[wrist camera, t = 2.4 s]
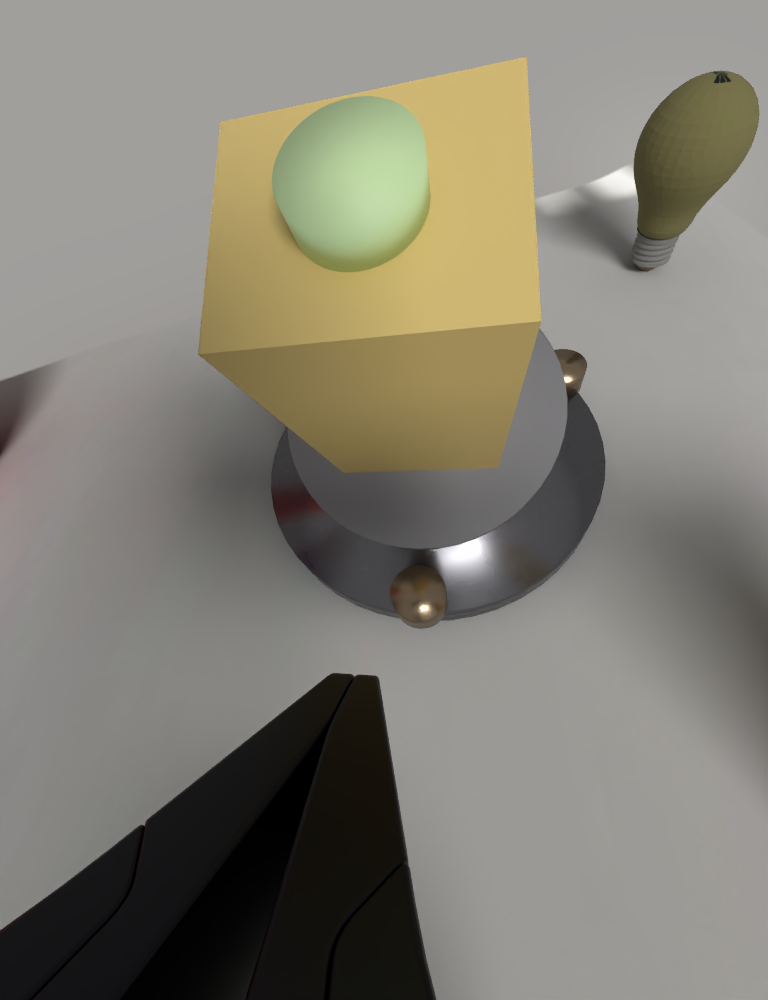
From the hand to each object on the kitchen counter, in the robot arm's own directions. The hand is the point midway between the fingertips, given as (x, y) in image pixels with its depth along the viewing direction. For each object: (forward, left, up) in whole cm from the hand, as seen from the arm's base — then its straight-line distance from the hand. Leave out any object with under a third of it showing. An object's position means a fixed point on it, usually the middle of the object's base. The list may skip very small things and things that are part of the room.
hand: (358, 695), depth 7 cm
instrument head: (+10, +9, -8) cm, 16 cm away
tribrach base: (+10, +9, -12) cm, 18 cm away
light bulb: (+32, +8, -13) cm, 35 cm away
